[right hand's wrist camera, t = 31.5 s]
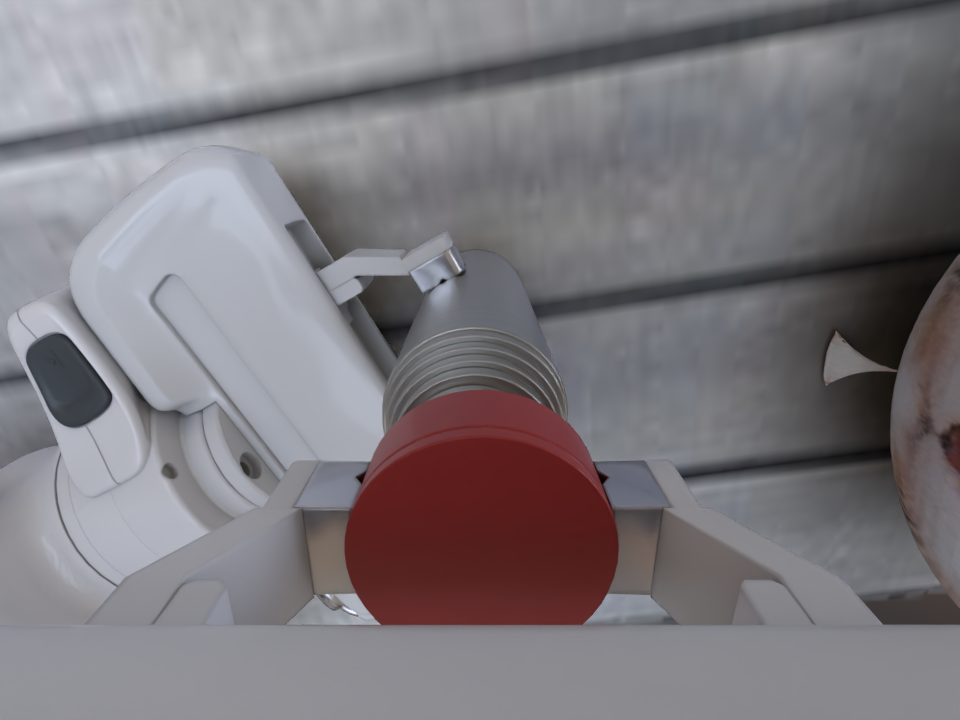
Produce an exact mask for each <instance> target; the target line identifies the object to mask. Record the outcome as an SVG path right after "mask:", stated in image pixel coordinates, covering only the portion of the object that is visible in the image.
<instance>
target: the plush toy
mask: <svg viewBox="0 0 960 720" xmlns="http://www.w3.org/2000/svg"><path fill="white" fill-rule="evenodd" d="M869 371H891V372H898V373H897V377H896V381H895V386H894V392H893V398H892V407H891V424H890V444H891V456H892V465H893V473H894V478H895V482H896V487H897V491H898V496H899V500H900V503H901V506H902V509H903V512H904V515H905V518H906V520H907V523H908V526H909V528H910V531H911V533H912V535H913V537H914V539H915V542H916V544H917V546H918V548H919V550H920V552H921V554H922V555H923V557H924V559H925V560H926V562H927V564H928V565H929V567H930V569H931V570H932V572H933V574H934V575H935V576H936V578H937V579H938V581H939V582H940V583H941V585H942V586H943V588H944V589H945V591H946V592H947V593H948V595H949V596H950V597H951V598H952V600H953V601H954V602H955V603H956V604H957V606H958V607H959V608H960V254H959V255H958V256H957V257H956V258H955V260H954V261H953V263H952V264H951V265H950V267H949V268H948V270H947V271H946V272H945V274H944V275H943V277H942V278H941V280H940V281H939V282H938V284H937V285H936V287H935V288H934V290H933V291H932V293H931V295H930V297H929V298H928V300H927V302H926V303H925V305H924V307H923V309H922V310H921V312H920V314H919V316H918V319H917V321H916V323H915V325H914V327H913V330H912V332H911V334H910V336H909V339H908V341H907V344H906V346H905V349H904V352H903V355H902V359H901V362H900V365H899V368H898V370H896V369H892V368H889V367H886V366H883V365H880V364H878V363H876V362H874V361H872V360H870V359H868V358H866V357H864V356H863V355H862V354H860V353H859V352H857V351H856V350H855V349H853V348H852V347H851V346H850V345H849V344H848V343H847V342H846V341H845V340H844V338H843V337H842V336H841V335H840V334H839V333H838V332H837V330H836V331H835V334H834V336H833V338H832V340H831V342H830V345H829V348H828V351H827V354H826V360H825V366H824V373H823V377H824V381H825V385H826V386H827V385H828V384H829V383H831V382H833V381H836V380H838V379H841V378H843V377H846V376H849V375H853V374H857V373H862V372H869Z"/></svg>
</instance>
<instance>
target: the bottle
mask: <svg viewBox="0 0 960 720" xmlns="http://www.w3.org/2000/svg"><path fill="white" fill-rule="evenodd" d="M460 255H461V257H462V258H463V260H464V262H465V264H466V266H465V270H464V271H462V272H461V273H460V274H458V275H456V276H455V277H453V278H450V279H448V280H447V279H441V281H440V283H439V285H438V286H437V287H435V288H433V289H431V290H430V291H428V292H426V293H425V295H424V298H423V300H422V302H421V305H420V307H419V309H418V312H417V314H416V316H415V319H414V321H413V323H412V326H411V328H410V330H409V333H408V335H407V337H406V340H405V342H404V345H403V347H402V349H401V352H400V354H399V356H398V359H397V361H396V363H395V366H394V368H393V370H392V373H391V375H390V377H389V380H388V382H387V384H386V388H385V392H384V395H383V404H382V423H383V431H384V435H385V434H386V433H387V431H388V430H389V429H390V428H391V427H392V426H393V425H394V424H395V423H396V422H397V421H398V420H399V419H400V418H401V417H403V416H404V415H405V414H407V413H408V412H409V411H411V410H412V409H414V408H416V407H417V406H419V405H421V404H423V403H425V402H427V401H429V400H431V399H434V398H437V397H439V396H443V395H446V394H450V393H454V392H460V391H467V390H483V389H486V390H487V389H488V390H495V391H504V392H508V393H513V394H517V395H520V396H523V397H526V398H529V399H532V400H534V401H536V402H538V403H540V404H542V405H544V406H546V407H548V408H549V409H551V410H552V411H554V412H555V413H556V414H558V415H559V416H561V417H562V418H563V419H564V420H565V421H566V422H567V399H566V393H565V389H564V386H563V383H562V380H561V378H560V375H559V373H558V370H557V368H556V365H555V363H554V361H553V358H552V356H551V353H550V351H549V348H548V346H547V343H546V341H545V338H544V336H543V333H542V331H541V328H540V326H539V323H538V321H537V318H536V316H535V314H534V311H533V309H532V306H531V304H530V301H529V299H528V296H527V294H526V291H525V289H524V286H523V284H522V281H521V279H520V277H519V275H518V273H517V272H516V270H515V269H514V267H513V266H512V265H511V264H510V263H509V262H508V261H507V260H505V259H504V258H502V257H501V256H499V255H497V254H495V253H492V252H489V251H485V250H467V251H463V252H460Z"/></svg>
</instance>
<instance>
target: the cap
mask: <svg viewBox="0 0 960 720" xmlns="http://www.w3.org/2000/svg"><path fill="white" fill-rule="evenodd" d="M344 554H345V561H346V568H347V571H348V575H349V578H350V581H351V584H352V586H353V588H354V590H355V592H356V594H357V596H358V598H359V599H360V601H361V602H362V604H363V605H364V607H365V608H366V609H367V610H368V612H369V613H370V614H371V615H372V616H373V617H374V618H375V619H376V620H377V621H378V622H379V623H380V624H381V625H583V624H584V623H585V622H586V621H587V620H588V619H589V618H590V617H591V616H592V615H593V613H594V612H595V611H596V610H597V608H598V607H599V606H600V605H601V603H602V601H603V600H604V598H605V596H606V595H607V593H608V591H609V589H610V587H611V584H612V582H613V579H614V576H615V572H616V568H617V564H618V555H619V540H618V531H617V527H616V523H615V519H614V516H613V513H612V511H611V508H610V506H609V503H608V500H607V498H606V495H605V492H604V490H603V487H602V485H601V482H600V479H599V477H598V474H597V472H596V469H595V466H594V464H593V461H592V459H591V457H590V454H589V452H588V450H587V448H586V446H585V444H584V443H583V441H582V439H581V438H580V436H579V435H578V434H577V433H576V431H575V430H574V429H573V428H572V427H571V426H570V425H569V424H568V423H567V422H566V421H565V420H564V419H563V418H562V417H561V416H559V415H558V414H556V413H555V412H554V411H552V410H551V409H549V408H548V407H546V406H544V405H542V404H540V403H538V402H536V401H534V400H532V399H529V398H526V397H523V396H520V395H517V394H513V393H508V392H504V391H495V390H488V389H487V390H486V389H483V390H467V391H460V392H454V393H450V394H446V395H443V396H439V397H437V398H434V399H431V400H429V401H427V402H425V403H423V404H421V405H419V406H417V407H416V408H414V409H412V410H411V411H409V412H408V413H407V414H405V415H404V416H403V417H401V418H400V419H399V420H398V421H397V422H396V423H395V424H394V425H393V426H392V427H391V428H390V429H389V430H388V431H387V433H386V434H385V435H384V437H383V438H382V439H381V441H380V443H379V444H378V446H377V448H376V450H375V452H374V454H373V457H372V459H371V462H370V464H369V467H368V469H367V472H366V475H365V477H364V480H363V482H362V485H361V488H360V490H359V493H358V495H357V498H356V501H355V503H354V506H353V508H352V511H351V514H350V517H349V520H348V522H347V527H346V533H345V540H344Z"/></svg>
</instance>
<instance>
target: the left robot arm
mask: <svg viewBox="0 0 960 720" xmlns="http://www.w3.org/2000/svg"><path fill="white" fill-rule="evenodd" d="M465 266H466V264H465V262H464V260H463V258H462V257H461V255H460V253H459V251H458V249H457V247H456V245H455V244H454V243H453V240H452V238H451V236H450V235H449V233H448V231H445V232H443V233H441V234H439V235H437V236H436V237H434V238H432V239H430V240H429V241H427V242H425V243H423V244H422V245H420V246H418V247H416V248H415V249H413V250H411V251H409V252H407V250H402V249H359V248H357V249H355V250H353V251H352V252H350V253H348V254H347V255H345V256H343V257H341V258H340V259H338V260H336V261H334V260H333V258H332V257H331V255H330V253H329V252H328V250H327V249H326V247H325V246H324V244H323V243H322V241H321V240H320V238H319V236H318V235H317V233H316V232H315V230H314V229H313V227H312V226H311V224H310V223H309V221H308V219H307V218H306V216H305V215H304V213H303V212H302V210H301V209H300V207H299V206H298V204H297V202H296V201H295V199H294V198H293V196H292V195H291V193H290V192H289V190H288V189H287V187H286V186H285V184H284V182H283V181H282V179H281V178H280V176H279V175H278V173H277V171H276V170H275V168H274V167H273V165H272V164H271V163H270V161H269V160H268V159H267V158H266V157H265V156H263V155H261V154H259V153H255V152H251V151H247V150H244V149H240V148H234V147H229V146H215V145H212V146H202V147H198V148H195V149H192V150H190V151H188V152H186V153H184V154H182V155H181V156H179V157H177V158H176V159H174V160H173V161H171V162H170V163H168V164H167V165H166V166H164V167H163V168H162V169H160V170H159V171H157V172H156V173H155V174H153V175H152V176H151V177H150V178H148V179H147V180H146V181H144V182H143V183H142V184H141V185H139V186H138V187H137V188H136V189H135V190H133V191H132V192H131V193H130V194H129V195H128V196H126V197H125V198H124V199H123V200H122V201H121V202H120V203H119V204H117V205H116V206H115V207H114V208H113V209H112V210H111V211H110V212H109V213H108V214H107V215H106V216H105V217H104V218H103V219H102V220H101V221H100V222H99V223H98V224H96V225H95V226H94V227H93V228H92V230H91V231H90V232H89V233H88V234H87V235H86V236H85V237H84V239H83V240H82V241H81V243H80V245H79V246H78V248H77V249H76V251H75V254H74V256H73V258H72V261H71V265H70V271H69V284H70V285H68V286H66V287H63V288H61V289H58V290H56V291H53V292H51V293H49V294H47V295H45V296H43V297H41V298H39V299H37V300H35V301H32V302H30V303H29V304H27V305H25V306H23V307H22V308H20V309H18V310H17V311H16V312H15V313H13V314H12V315H11V317H10V318H9V320H8V323H7V332H8V336H9V339H10V342H11V344H12V347H13V349H14V351H15V353H16V355H17V356H18V358H19V360H20V362H21V364H22V366H23V368H24V370H25V371H26V373H27V375H28V377H29V379H30V381H31V383H32V385H33V387H34V389H35V391H36V393H37V395H38V397H39V399H40V402H41V404H42V406H43V408H44V410H45V412H46V415H47V417H48V419H49V422H50V424H51V426H52V429H53V432H54V434H55V437H56V440H57V442H58V445H56V446H51V447H47V448H44V449H40V450H37V451H35V452H32V453H29V454H27V455H24V456H23V457H21V458H19V459H17V460H15V461H13V462H11V463H10V464H8V465H6V466H5V467H3V468H1V469H0V625H84V624H85V623H86V622H87V621H88V620H89V618H90V617H91V616H92V615H93V614H94V613H95V612H96V610H97V609H98V608H99V607H100V606H101V605H102V604H103V602H104V601H105V600H106V599H107V598H108V597H109V596H110V594H111V593H112V592H113V591H114V590H115V589H116V588H117V586H118V585H119V584H120V583H121V582H122V581H123V580H124V578H125V577H127V576H129V575H131V574H133V573H135V572H137V571H138V570H140V569H142V568H144V567H146V566H148V565H150V564H151V563H153V562H155V561H157V560H159V559H161V558H163V557H164V556H166V555H168V554H170V553H172V552H174V551H176V550H177V549H179V548H181V547H183V546H185V545H187V544H189V543H191V542H192V541H194V540H196V539H198V538H200V537H202V536H204V535H205V534H207V533H209V532H211V531H213V530H215V529H217V528H218V527H220V526H222V525H224V524H226V523H228V522H230V521H231V520H233V519H235V518H237V517H239V516H241V515H243V514H245V513H246V512H248V511H250V510H252V509H254V508H263V507H264V505H265V504H266V502H267V501H268V499H269V498H270V496H271V494H272V493H273V491H274V490H275V488H276V487H277V485H278V484H279V482H280V481H281V479H282V477H283V476H284V474H285V473H286V471H287V470H288V468H289V467H290V465H291V464H292V462H294V461H297V460H321V461H323V460H330V461H371V459H372V457H373V454H374V452H375V450H376V448H377V446H378V444H379V443H380V441H381V439H382V438H383V437H384V431H383V423H382V404H383V395H384V392H385V388H386V384H387V382H388V380H389V377H390V375H391V373H392V370H393V368H394V366H395V363H396V361H397V357H396V356H395V354H394V352H393V351H392V349H391V348H390V346H389V345H388V343H387V342H386V340H385V338H384V337H383V335H382V334H381V332H380V331H379V329H378V328H377V326H376V325H375V323H374V321H373V320H372V318H371V317H370V315H369V314H368V312H367V311H366V309H365V308H364V306H363V304H362V303H361V301H360V300H359V298H358V297H357V295H358V294H359V293H361V292H363V290H364V289H365V288H366V287H367V286H368V285H369V284H370V283H371V282H372V281H373V279H374V276H410V275H411V276H412V278H413V279H414V281H415V282H416V284H417V285H418V287H419V289H420V290H421V292H422V293H423V294H424V293H426V292H428V291H430V290H431V289H433V288H435V287H437V286H438V285H439V283H440V281H441V279H447V280H448V279H450V278H453V277H455V276H456V275H458V274H460V273H461V272H462V271H464V270H465ZM317 596H318V598H319V599H320V600H321V601H322V602H323V603H324V604H325V605H326V606H327V607H328V608H330V609H332V610H338V609H341V610H343V611H344V612H346V613H348V614H351V615H354V616H358V617H360V618H361V619H363V620H373V619H375V618H374V617H373V616H372V615H371V614H370V613H369V612H368V610H367V609H366V608H365V607H364V605H363V604H362V602H361V601H360V599H359V598H358V596H357V594H324V595H317Z"/></svg>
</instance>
